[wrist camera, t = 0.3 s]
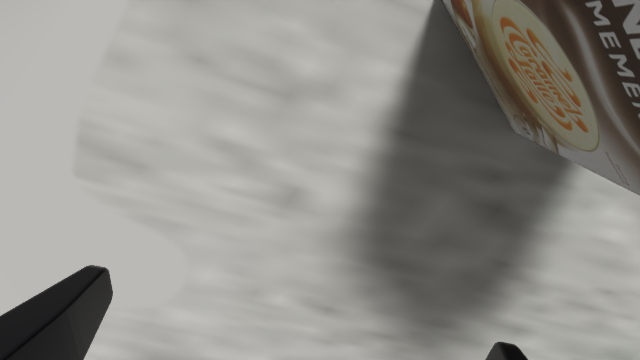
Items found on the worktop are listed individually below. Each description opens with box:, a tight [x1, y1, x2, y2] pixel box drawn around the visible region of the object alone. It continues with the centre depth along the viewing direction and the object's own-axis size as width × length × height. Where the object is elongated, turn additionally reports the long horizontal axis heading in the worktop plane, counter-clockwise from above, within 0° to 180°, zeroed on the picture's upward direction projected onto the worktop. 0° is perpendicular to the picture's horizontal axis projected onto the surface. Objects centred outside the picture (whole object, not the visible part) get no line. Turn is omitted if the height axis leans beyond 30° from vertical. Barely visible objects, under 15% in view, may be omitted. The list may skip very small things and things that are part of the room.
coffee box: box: [443, 0, 640, 195], centre depth 14 cm, size 9×6×16 cm
